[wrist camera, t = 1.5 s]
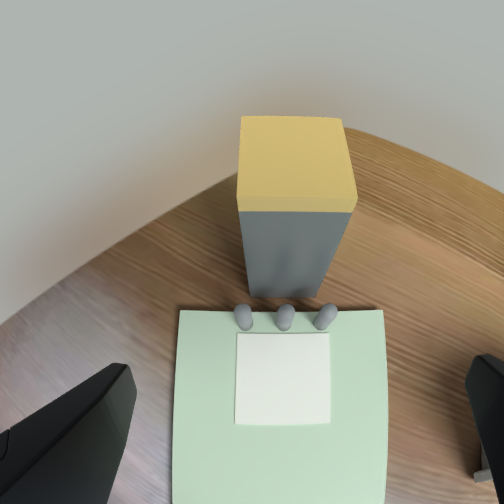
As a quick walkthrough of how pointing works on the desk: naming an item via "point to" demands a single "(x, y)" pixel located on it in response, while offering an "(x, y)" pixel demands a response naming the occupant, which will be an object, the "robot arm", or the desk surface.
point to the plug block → (292, 201)
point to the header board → (280, 407)
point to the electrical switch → (483, 470)
